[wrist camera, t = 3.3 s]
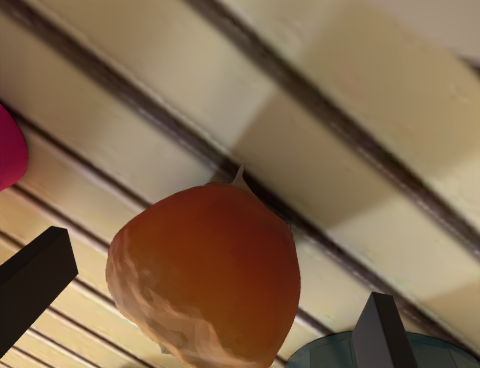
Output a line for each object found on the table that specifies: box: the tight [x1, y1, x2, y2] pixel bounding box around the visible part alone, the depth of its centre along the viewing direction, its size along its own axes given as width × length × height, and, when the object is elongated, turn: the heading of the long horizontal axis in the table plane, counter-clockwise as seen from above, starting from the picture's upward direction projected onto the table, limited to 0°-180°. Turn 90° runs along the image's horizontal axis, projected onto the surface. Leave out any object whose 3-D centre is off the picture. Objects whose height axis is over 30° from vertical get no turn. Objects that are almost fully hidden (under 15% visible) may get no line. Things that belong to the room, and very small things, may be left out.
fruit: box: [106, 163, 301, 368], centre depth 12 cm, size 8×8×8 cm
